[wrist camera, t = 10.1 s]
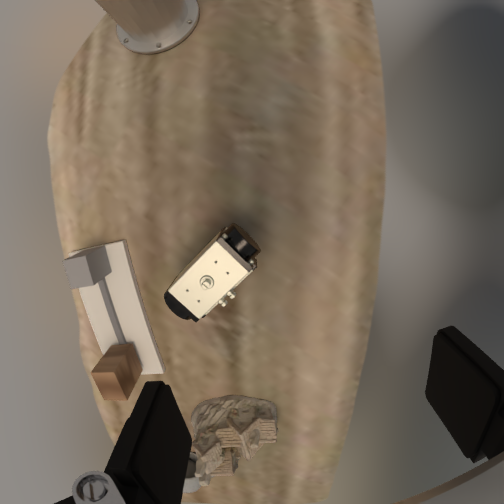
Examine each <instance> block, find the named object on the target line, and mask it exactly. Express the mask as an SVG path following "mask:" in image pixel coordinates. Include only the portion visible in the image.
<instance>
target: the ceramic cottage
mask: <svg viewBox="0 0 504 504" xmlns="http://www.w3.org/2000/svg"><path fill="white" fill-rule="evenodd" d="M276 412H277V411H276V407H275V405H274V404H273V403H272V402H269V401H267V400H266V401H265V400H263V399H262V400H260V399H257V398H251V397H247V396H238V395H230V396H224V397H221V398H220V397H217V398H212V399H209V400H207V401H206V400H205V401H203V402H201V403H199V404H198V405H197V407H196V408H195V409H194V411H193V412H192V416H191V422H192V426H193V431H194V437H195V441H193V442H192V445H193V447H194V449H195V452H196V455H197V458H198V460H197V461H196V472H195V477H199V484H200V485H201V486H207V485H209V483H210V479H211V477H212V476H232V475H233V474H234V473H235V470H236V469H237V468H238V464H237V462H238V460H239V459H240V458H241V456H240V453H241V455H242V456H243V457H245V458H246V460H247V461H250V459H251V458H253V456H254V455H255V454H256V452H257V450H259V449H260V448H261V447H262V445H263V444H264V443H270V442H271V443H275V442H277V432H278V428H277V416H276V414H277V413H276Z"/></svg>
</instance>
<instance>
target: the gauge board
mask: <svg viewBox="0 0 504 504" xmlns="http://www.w3.org/2000/svg"><path fill="white" fill-rule="evenodd" d="M63 264H64V268H65V271H66V275H67V278H68V281H69V285H70V288H71V289H75V288H79V291H80V294H81V297H82V300H83V303H84V306H85V309H86V312H87V315H88V317H89V320H90V323H91V326H92V328H93V331H94V333H95V336H96V339H97V341H98V344H99V346H100V348H101V351H102V353H103V355H104V354H105V353H106V351H107V350H108V349H109V347H110V346H111V345H119V344H132V343H133V346H134V349H135V351H136V354H137V356H138V359H139V361H140V364H141V366H142V369H143V370H142V372H141V374H140V375H142V374H160V373H164V372H165V366H164V364H163V361H162V358H161V355H160V353H159V350H158V347H157V344H156V341H155V338H154V335H153V333H152V330H151V327H150V323H149V320H148V317H147V314H146V311H145V308H144V305H143V301H142V298H141V295H140V291H139V288H138V284H137V281H136V277H135V274H134V270H133V266H132V262H131V259H130V255H129V251H128V247H127V243H126V240H122V241H117V242H113V243H108V244H104V245H99V246H95V247H90V248H86V249H82V250H77V251H73V252H71V253H69V258H67V259H65V260H63Z"/></svg>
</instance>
